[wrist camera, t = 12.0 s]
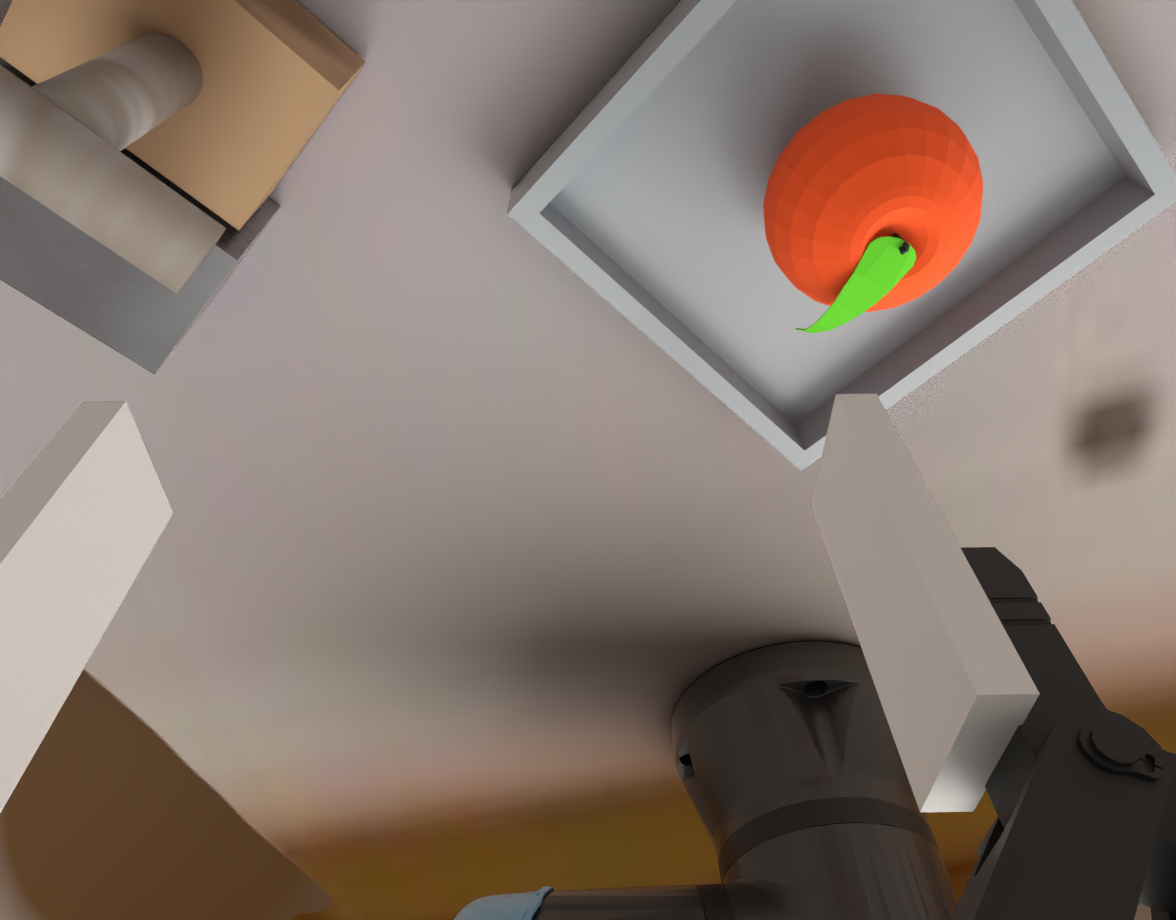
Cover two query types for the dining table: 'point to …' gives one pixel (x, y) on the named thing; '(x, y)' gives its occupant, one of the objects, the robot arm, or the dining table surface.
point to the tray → (765, 127)
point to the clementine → (872, 205)
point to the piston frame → (111, 272)
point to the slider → (162, 114)
